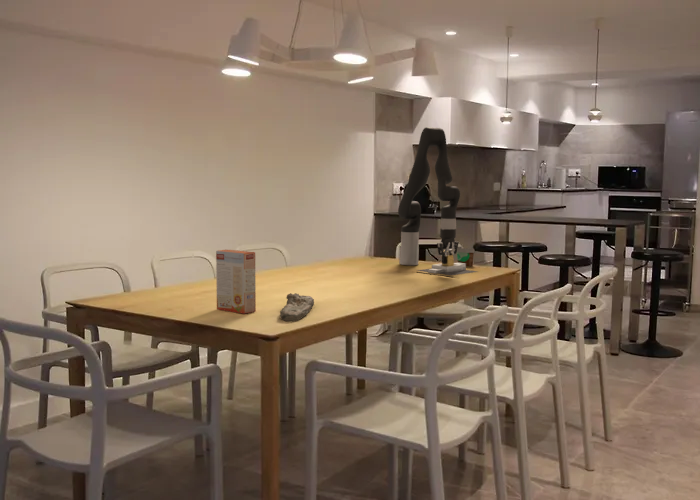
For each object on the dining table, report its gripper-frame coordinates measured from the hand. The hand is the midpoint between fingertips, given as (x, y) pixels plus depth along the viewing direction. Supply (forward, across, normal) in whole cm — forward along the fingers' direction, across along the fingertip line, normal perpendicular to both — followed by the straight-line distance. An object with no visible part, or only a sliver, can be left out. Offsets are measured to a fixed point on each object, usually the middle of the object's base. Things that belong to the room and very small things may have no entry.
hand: (447, 263), depth 350 cm
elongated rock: (+5, +116, +29) cm, 119 cm away
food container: (+5, -24, -10) cm, 26 cm away
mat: (+5, 0, 0) cm, 5 cm away
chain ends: (+5, 0, 0) cm, 5 cm away
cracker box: (+5, +131, +15) cm, 132 cm away
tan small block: (+1, 0, 0) cm, 1 cm away
